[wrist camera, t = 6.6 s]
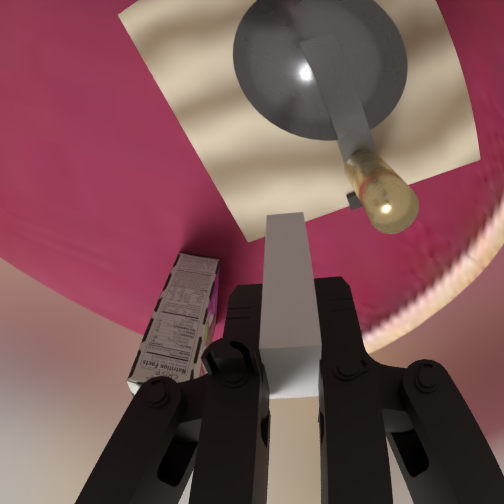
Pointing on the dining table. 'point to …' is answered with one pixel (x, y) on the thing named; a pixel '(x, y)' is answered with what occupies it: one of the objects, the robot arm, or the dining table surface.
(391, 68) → the grey round handled piece
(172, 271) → the candy bar box
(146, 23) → the stand
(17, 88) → the dining table surface
